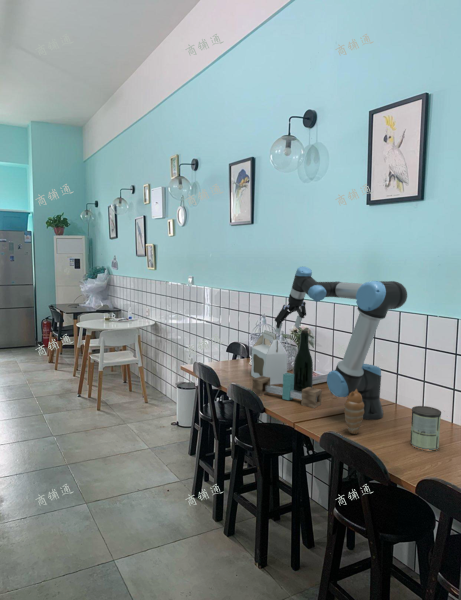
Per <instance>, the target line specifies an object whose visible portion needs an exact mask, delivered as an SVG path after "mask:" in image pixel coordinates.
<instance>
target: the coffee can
mask: <svg viewBox="0 0 461 600" xmlns="http://www.w3.org/2000/svg"><path fill="white" fill-rule="evenodd" d="M441 417H442V411H441V410H440V409H438V408H436V407H432V406H426V405H425V406H424V405H416V406H413V407H411V426H410V442H409V444H410V443H411V444H412V445H413V446H415V447H418V448H422V449H429V450H434V449H438V448H439V449H440V434H441V433H440V431H441ZM439 449H438V450H439Z"/></svg>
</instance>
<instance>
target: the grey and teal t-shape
mask: <svg viewBox="0 0 461 600" xmlns="http://www.w3.org/2000/svg"><path fill="white" fill-rule="evenodd" d="M265 392H270V393H269V394H275V395H278V396H279V395H280V396H282V400H285V401H291V400H293V399H297V400H301V401H302V392H301V391H296V390H294V374H293V372H292V373H290V372H287V373H285V374H283V384H282V386H276V385H274V384H272V385H266V386H265ZM317 401H318V396H316V402H317Z"/></svg>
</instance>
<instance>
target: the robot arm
mask: <svg viewBox="0 0 461 600" xmlns="http://www.w3.org/2000/svg"><path fill="white" fill-rule="evenodd" d="M295 271H296V272H295V274H294V278H293V282H292V285H291V289H290V292H289V296H288V300H287V301H288V304H287V305H286V304H283V305H282V307H281V309H280V311H279V312H278V314H277V316H276V317H275V319H274V322H275V323H276V326H275V332H276V333H277V334H279V335H280V334H281V329H282V327H283V322H284V321H285V320H286V319H287V317H288V316H289V315H291V314H292V313H294V312H296V313H297V314H298V315H297V316H296V319H295V322H294V327H295V328H296V329H299V328H300V325H301V323H302V320H303V319H305V317H306V316H307V310H306V304H307V303H306V301H304V300H305V298H306V295H307V296H308V297H309V298H310V299H312V300H313V301H314V302H316V303H317V302H320V301H323V300H324V299H325V298H341V299H348V300H349V299H350V300H356V306H357V309H356V310H358V312H359V314H358V315H357V319H356V322H355V325H354V327H353V331H352V333H351V336H350V339H349V341H348V345H347V347H346V349H345V352H344V355H343V358H342V360H340V361H338V362H337V364H336V368H335V369H333V370H331V371H329V372H328V373H327V377H326V384H327V387H328V390H329V391H330V392H331V394H332V395H334V396H335V397H337V398H342V397H343V398H348V395H349V394H350V393H351V392H352V391H353V392H354V391H355V390H356V389H357V390H358V392H359V393H360V394H361V395H362V402H363V403H364V414H363V419H362V420H371V421H373V420H375V421H376V420H380V419H382V418H383V416H384V410H383V407H382V403H381V398H380V397H381V387H382V385H381V384H382V369H381V368H380V367H379V366H377V365H373V364H368V363H365V361H366V358H367V356H368V353H369V350H370V348H371V344H372V342H373V340H374V337H375V334H376V332H377V329H378V327H379V325H380V321H381V320H384V319H386V317H387V314H388V311H389V310H396V309H399V308H401V307H403V305H405V304H406V302H407V299H408V291H407V288H406V287H405V286H404V284H402V283H400V282H397V281H394V280H391V281H390V280H389V281H388V280H387V281H386V280H384V281H383V280H381V281H380V280H372V281H366V282H364V283H360V282H343V281H317V280H315V279H314V278H313V276H312V275H313V272H312V269H311V268H309V267H307V266H298V267H297V268H296V270H295Z"/></svg>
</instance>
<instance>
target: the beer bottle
mask: <svg viewBox="0 0 461 600" xmlns="http://www.w3.org/2000/svg"><path fill="white" fill-rule="evenodd" d="M309 336H310V333H309V330H306V329H302V330H301V332H300V338H299V347H298V350H297V352H296V355H295V357H294V361H293V370H292V371H293V372H292V374H294V390H296V391H301V392H302V390H303V389H305V388H307V387H312V388H313V381H314V380H313V379H314V364H313V362H314V361H313V357H312V354H311V351H310V348H309V347H310V346H309V338H310V337H309Z"/></svg>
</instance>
